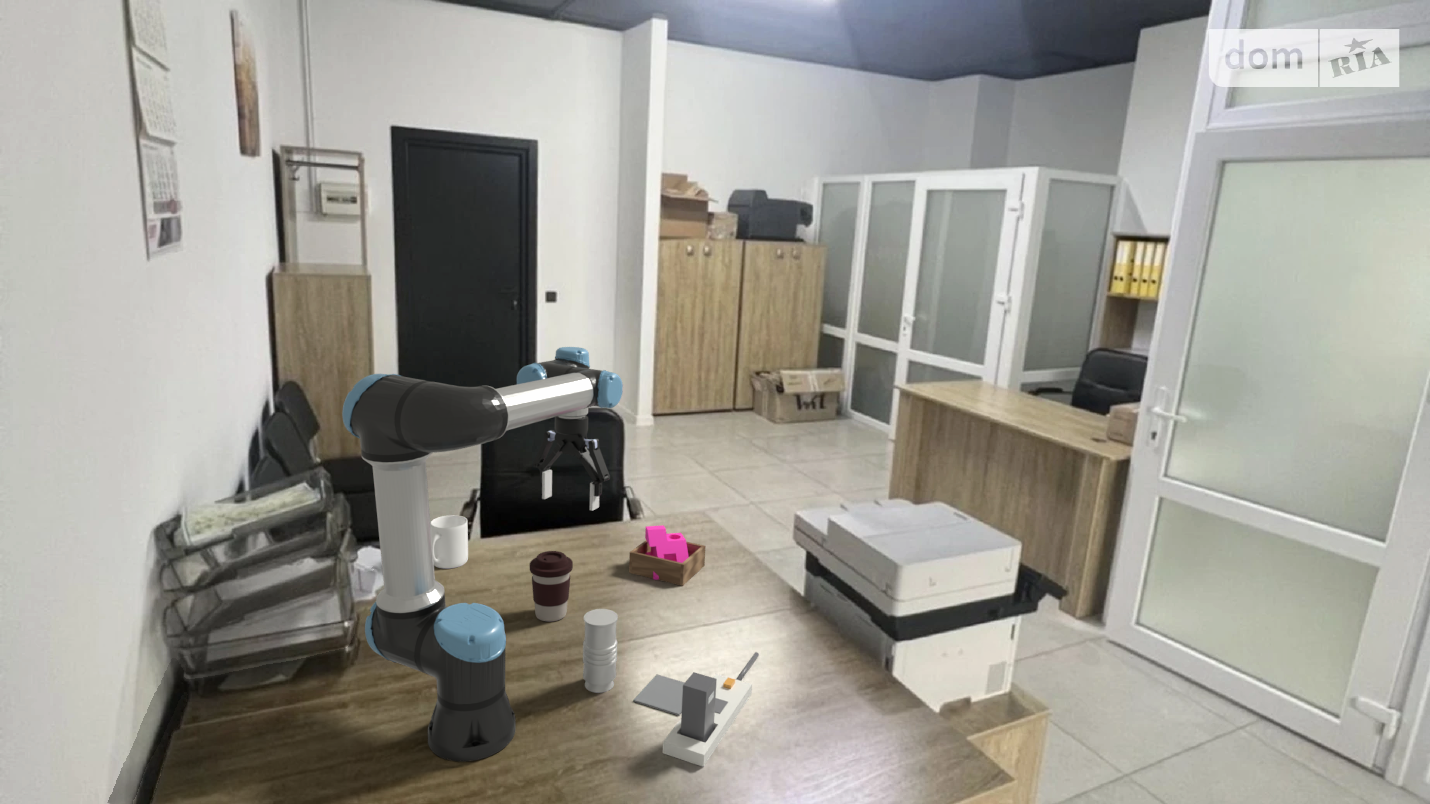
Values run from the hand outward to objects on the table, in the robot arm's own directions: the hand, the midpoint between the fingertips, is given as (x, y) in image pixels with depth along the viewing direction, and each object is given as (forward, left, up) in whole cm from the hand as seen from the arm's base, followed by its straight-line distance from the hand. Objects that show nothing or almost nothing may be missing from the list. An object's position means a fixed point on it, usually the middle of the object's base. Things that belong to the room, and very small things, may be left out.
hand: (570, 503), depth 179 cm
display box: (+32, -11, -27) cm, 43 cm away
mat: (-20, -37, -27) cm, 50 cm away
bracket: (+32, -11, -27) cm, 43 cm away
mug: (+6, +42, -28) cm, 51 cm away
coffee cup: (-4, +2, -27) cm, 28 cm away
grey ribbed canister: (-23, -23, -27) cm, 43 cm away
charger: (-30, -48, -27) cm, 63 cm away
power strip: (-17, -48, -27) cm, 58 cm away
